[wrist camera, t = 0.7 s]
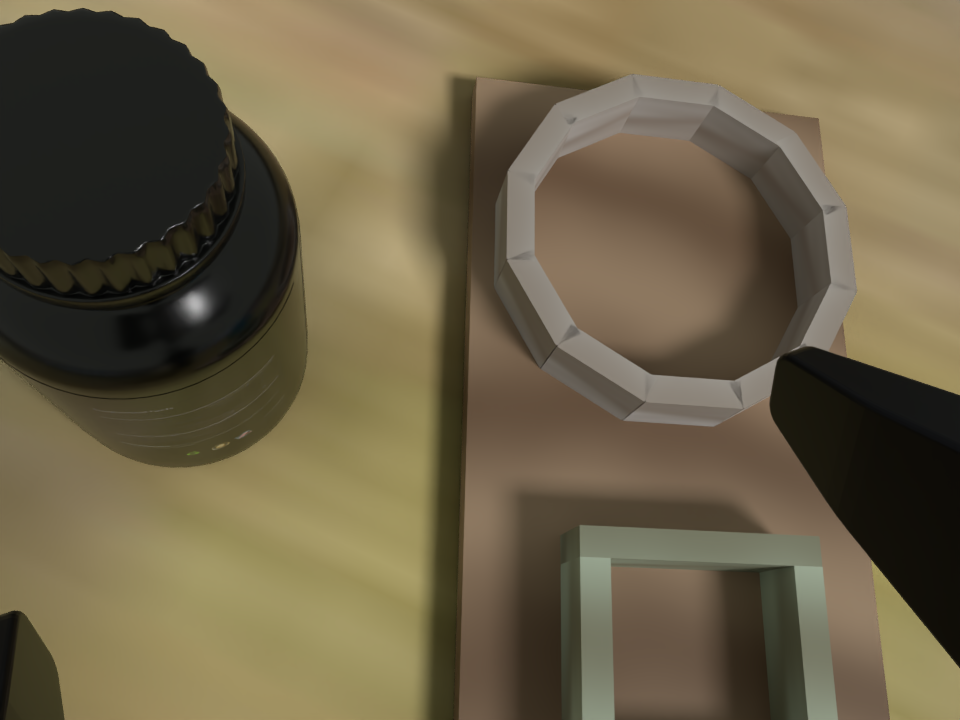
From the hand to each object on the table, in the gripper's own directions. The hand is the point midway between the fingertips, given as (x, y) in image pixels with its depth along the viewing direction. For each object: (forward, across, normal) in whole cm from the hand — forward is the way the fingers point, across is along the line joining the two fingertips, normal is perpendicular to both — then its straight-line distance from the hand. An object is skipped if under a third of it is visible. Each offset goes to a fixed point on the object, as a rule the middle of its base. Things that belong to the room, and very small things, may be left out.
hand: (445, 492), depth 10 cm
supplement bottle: (+15, +3, +8) cm, 18 cm away
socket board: (+10, -9, +12) cm, 18 cm away
